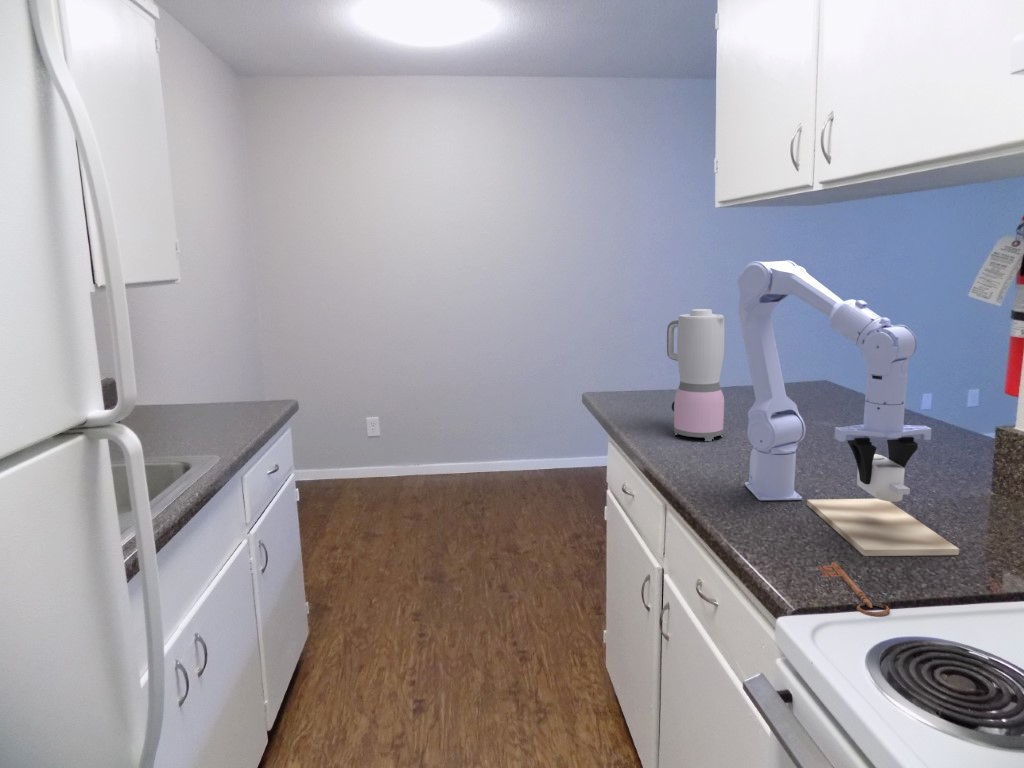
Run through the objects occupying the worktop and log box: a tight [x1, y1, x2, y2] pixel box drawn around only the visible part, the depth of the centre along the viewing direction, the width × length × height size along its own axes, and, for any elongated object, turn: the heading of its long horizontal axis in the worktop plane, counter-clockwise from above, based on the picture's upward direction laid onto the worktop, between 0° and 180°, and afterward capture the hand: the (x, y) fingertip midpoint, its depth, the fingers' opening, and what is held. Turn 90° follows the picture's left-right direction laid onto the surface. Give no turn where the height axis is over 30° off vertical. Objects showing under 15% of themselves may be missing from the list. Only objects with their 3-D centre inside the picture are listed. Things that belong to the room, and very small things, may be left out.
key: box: [817, 561, 891, 617], centre depth 95 cm, size 6×1×15 cm
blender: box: [666, 308, 726, 440], centre depth 173 cm, size 16×12×32 cm
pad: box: [806, 498, 960, 557], centre depth 115 cm, size 22×14×1 cm, turn 178°
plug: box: [856, 453, 911, 503], centre depth 112 cm, size 12×4×5 cm, turn 178°
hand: (878, 482), depth 113 cm, fingers closed on plug, 4 cm apart
